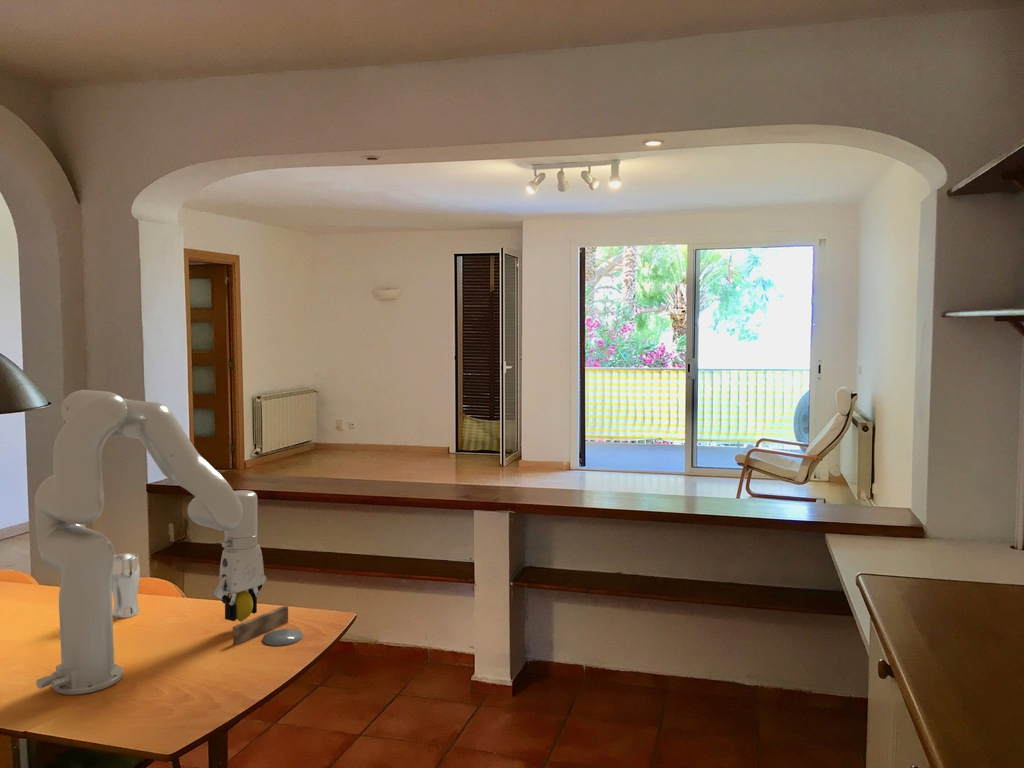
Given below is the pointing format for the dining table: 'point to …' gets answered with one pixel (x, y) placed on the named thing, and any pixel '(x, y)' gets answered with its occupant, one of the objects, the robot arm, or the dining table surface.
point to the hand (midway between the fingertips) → (241, 615)
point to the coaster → (282, 637)
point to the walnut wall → (260, 625)
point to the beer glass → (125, 585)
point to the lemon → (243, 605)
